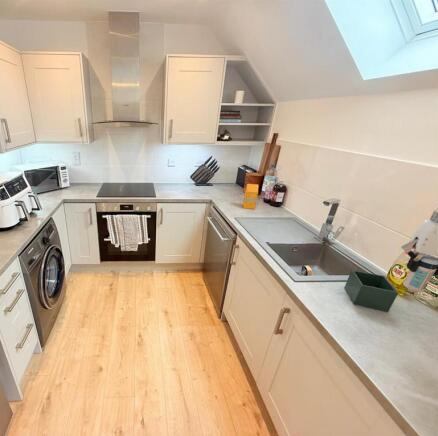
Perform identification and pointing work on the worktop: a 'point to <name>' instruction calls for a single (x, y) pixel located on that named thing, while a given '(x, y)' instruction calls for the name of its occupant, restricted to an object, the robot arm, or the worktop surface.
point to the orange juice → (250, 196)
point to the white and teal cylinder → (421, 274)
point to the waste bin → (370, 290)
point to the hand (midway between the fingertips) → (421, 271)
